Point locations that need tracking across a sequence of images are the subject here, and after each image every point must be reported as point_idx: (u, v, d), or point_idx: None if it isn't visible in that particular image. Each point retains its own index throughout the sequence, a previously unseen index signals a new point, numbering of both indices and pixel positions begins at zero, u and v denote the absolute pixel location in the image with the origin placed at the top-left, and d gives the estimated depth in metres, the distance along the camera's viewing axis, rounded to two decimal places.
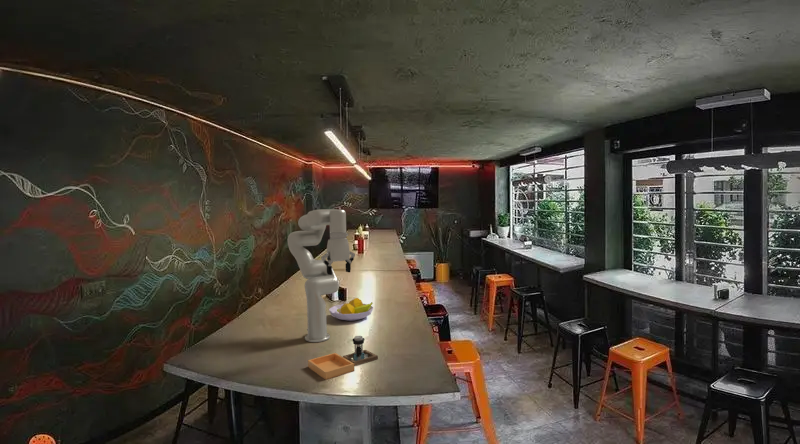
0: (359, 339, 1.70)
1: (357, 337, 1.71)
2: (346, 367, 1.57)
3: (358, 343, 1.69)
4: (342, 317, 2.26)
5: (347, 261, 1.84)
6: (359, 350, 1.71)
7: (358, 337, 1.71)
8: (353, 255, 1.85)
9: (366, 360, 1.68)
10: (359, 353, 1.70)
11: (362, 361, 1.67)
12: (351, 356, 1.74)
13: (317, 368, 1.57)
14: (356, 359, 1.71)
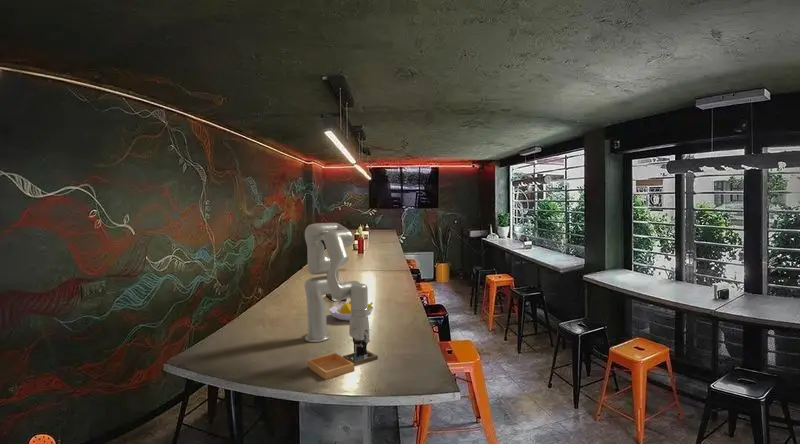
0: None
1: None
2: (346, 367, 1.57)
3: (358, 343, 1.69)
4: (342, 317, 2.26)
5: None
6: (359, 350, 1.71)
7: None
8: None
9: (366, 360, 1.68)
10: (359, 353, 1.70)
11: (362, 361, 1.67)
12: (351, 356, 1.74)
13: (317, 368, 1.57)
14: (356, 359, 1.71)
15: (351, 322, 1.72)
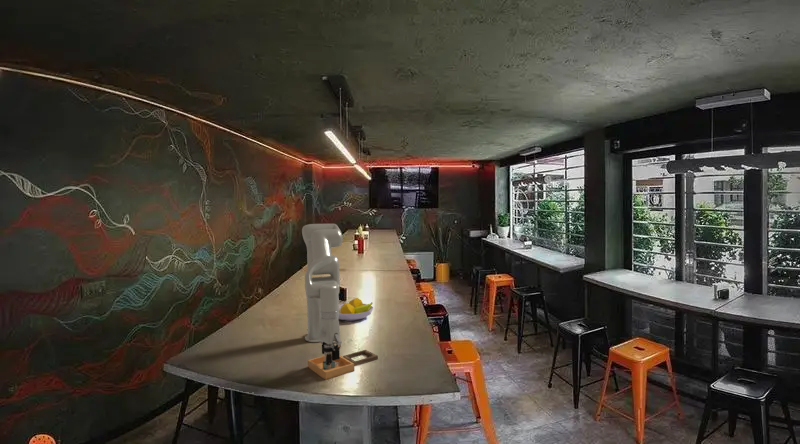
0: (329, 346, 1.60)
1: (327, 344, 1.61)
2: (346, 367, 1.57)
3: (328, 351, 1.59)
4: (342, 317, 2.26)
5: (324, 341, 1.65)
6: (329, 358, 1.61)
7: (328, 344, 1.61)
8: None
9: (366, 360, 1.68)
10: (329, 361, 1.61)
11: (362, 361, 1.67)
12: (351, 356, 1.74)
13: (317, 368, 1.57)
14: (326, 367, 1.61)
15: (321, 325, 1.62)
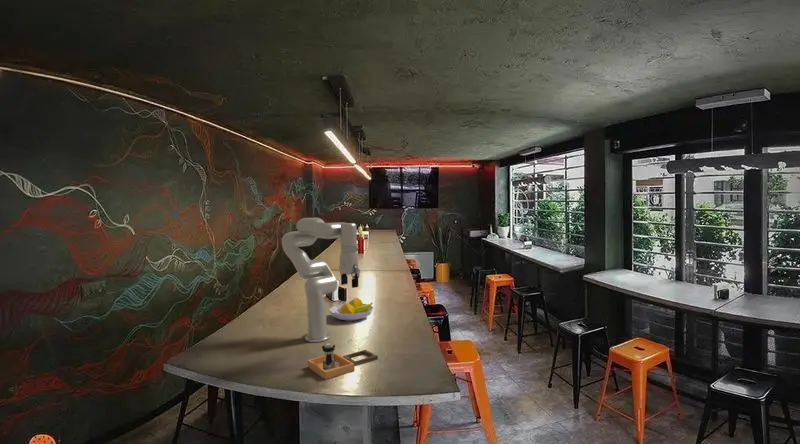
0: (329, 346, 1.60)
1: (327, 344, 1.61)
2: (346, 367, 1.57)
3: (328, 351, 1.59)
4: (342, 317, 2.26)
5: (343, 274, 1.86)
6: (329, 358, 1.61)
7: (328, 344, 1.61)
8: None
9: (366, 360, 1.68)
10: (329, 361, 1.61)
11: (362, 361, 1.67)
12: (351, 356, 1.74)
13: (317, 368, 1.57)
14: (326, 367, 1.61)
15: (341, 259, 1.83)
